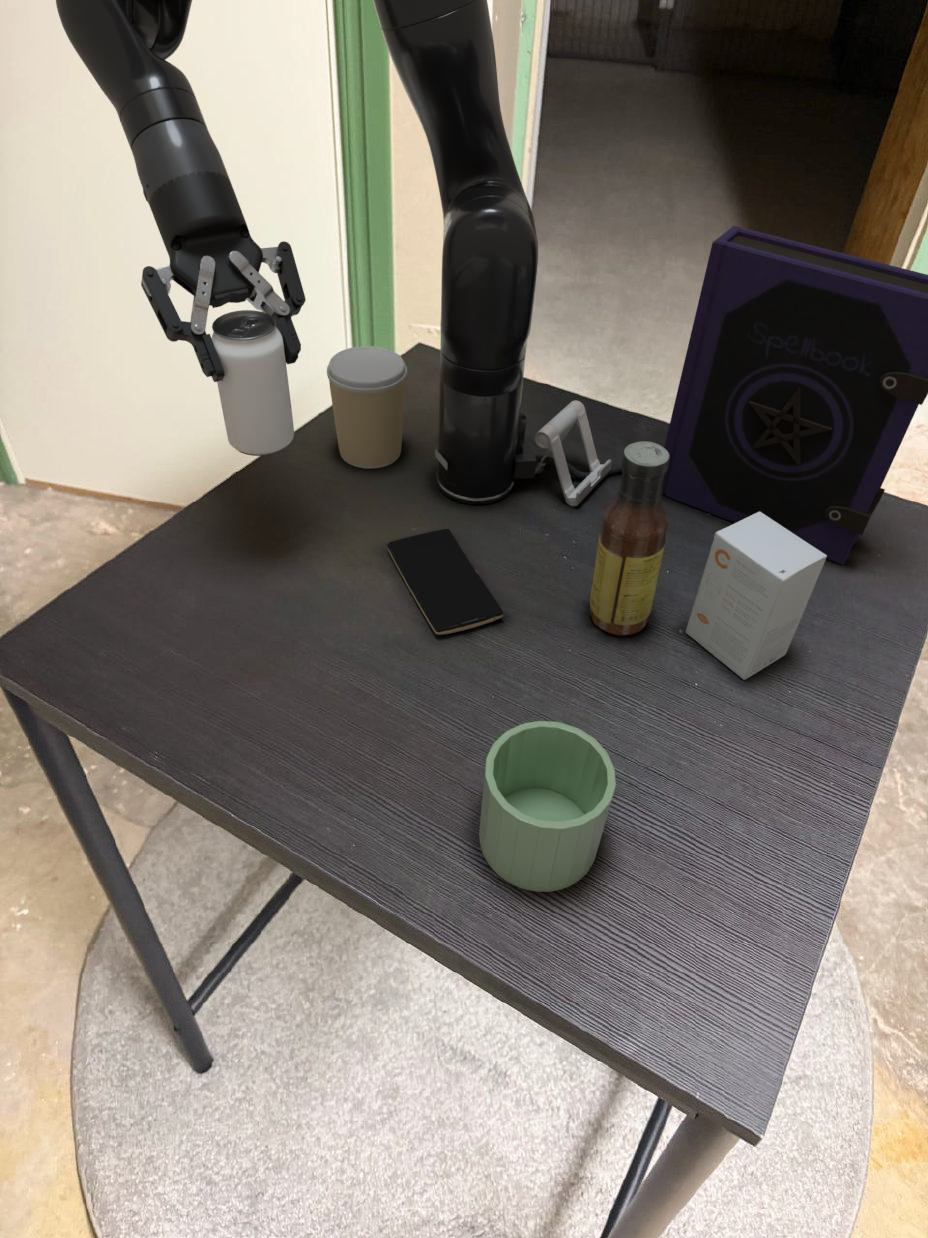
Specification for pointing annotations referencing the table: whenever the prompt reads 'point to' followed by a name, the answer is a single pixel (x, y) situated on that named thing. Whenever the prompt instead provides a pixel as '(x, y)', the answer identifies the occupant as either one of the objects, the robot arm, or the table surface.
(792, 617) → the small box
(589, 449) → the tablet stand
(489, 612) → the smartphone
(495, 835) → the holder
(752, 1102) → the table surface
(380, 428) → the coffee cup
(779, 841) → the table surface
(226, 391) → the can
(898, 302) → the book
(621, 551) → the sauce bottle
